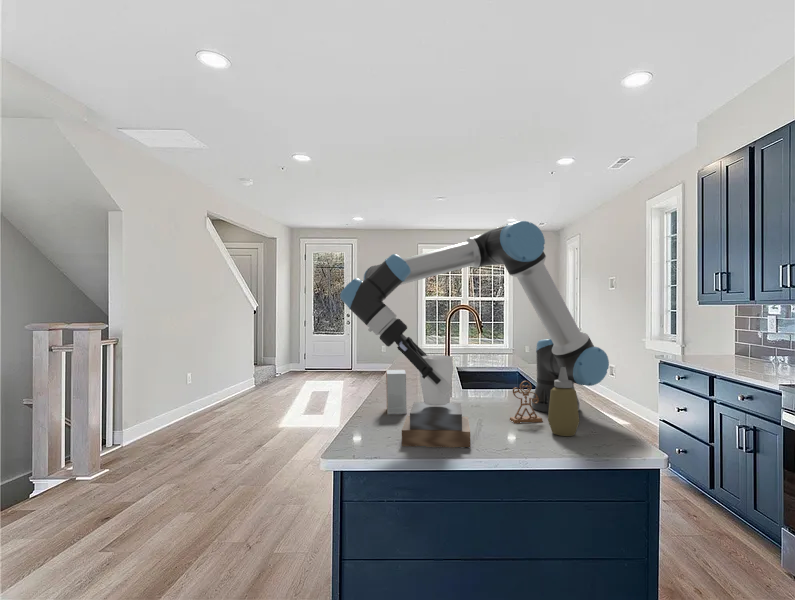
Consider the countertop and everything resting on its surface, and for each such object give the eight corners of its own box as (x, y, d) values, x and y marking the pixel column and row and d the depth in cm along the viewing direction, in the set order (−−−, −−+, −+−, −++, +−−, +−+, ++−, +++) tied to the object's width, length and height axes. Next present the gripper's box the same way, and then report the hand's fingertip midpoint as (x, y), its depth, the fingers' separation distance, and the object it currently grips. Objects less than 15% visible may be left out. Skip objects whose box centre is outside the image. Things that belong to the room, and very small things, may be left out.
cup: (453, 399, 132) (453, 355, 132) (453, 406, 123) (453, 359, 123) (420, 398, 133) (419, 355, 133) (418, 406, 124) (417, 359, 124)
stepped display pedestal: (468, 431, 135) (468, 402, 135) (470, 447, 120) (470, 415, 120) (407, 429, 137) (406, 401, 137) (401, 446, 122) (401, 414, 122)
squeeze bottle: (564, 439, 126) (563, 370, 126) (541, 432, 133) (541, 366, 133) (586, 435, 130) (585, 368, 130) (563, 428, 137) (562, 364, 137)
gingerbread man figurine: (536, 418, 148) (536, 379, 148) (542, 421, 144) (542, 381, 144) (509, 420, 147) (509, 380, 147) (514, 423, 143) (514, 382, 143)
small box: (386, 408, 163) (386, 369, 163) (405, 408, 163) (405, 369, 163) (386, 414, 155) (386, 373, 155) (406, 414, 155) (406, 373, 155)
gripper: (383, 333, 141) (439, 389, 139) (371, 340, 119) (437, 406, 118) (401, 315, 140) (458, 371, 138) (393, 319, 119) (459, 385, 117)
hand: (448, 387), depth 128 cm, fingers closed on cup, 9 cm apart
